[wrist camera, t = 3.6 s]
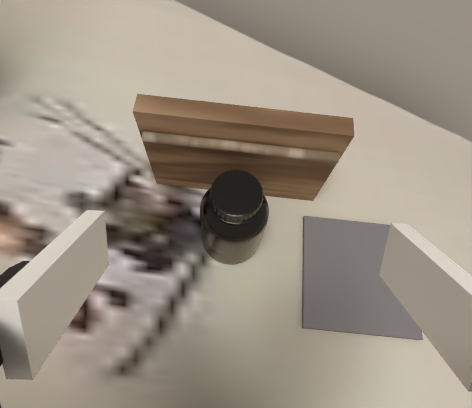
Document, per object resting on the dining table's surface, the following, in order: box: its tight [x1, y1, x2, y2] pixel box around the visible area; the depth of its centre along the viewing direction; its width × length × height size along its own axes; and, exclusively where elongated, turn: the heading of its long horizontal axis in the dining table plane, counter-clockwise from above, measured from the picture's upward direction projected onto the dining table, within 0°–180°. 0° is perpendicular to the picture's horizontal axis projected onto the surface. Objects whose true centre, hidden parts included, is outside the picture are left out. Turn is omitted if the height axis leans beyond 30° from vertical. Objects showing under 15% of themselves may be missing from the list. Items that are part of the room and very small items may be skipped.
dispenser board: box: [133, 94, 354, 201], centre depth 38 cm, size 7×20×14 cm, turn 85°
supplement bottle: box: [200, 170, 269, 264], centre depth 35 cm, size 7×7×12 cm
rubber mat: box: [302, 216, 423, 340], centre depth 39 cm, size 13×13×1 cm
